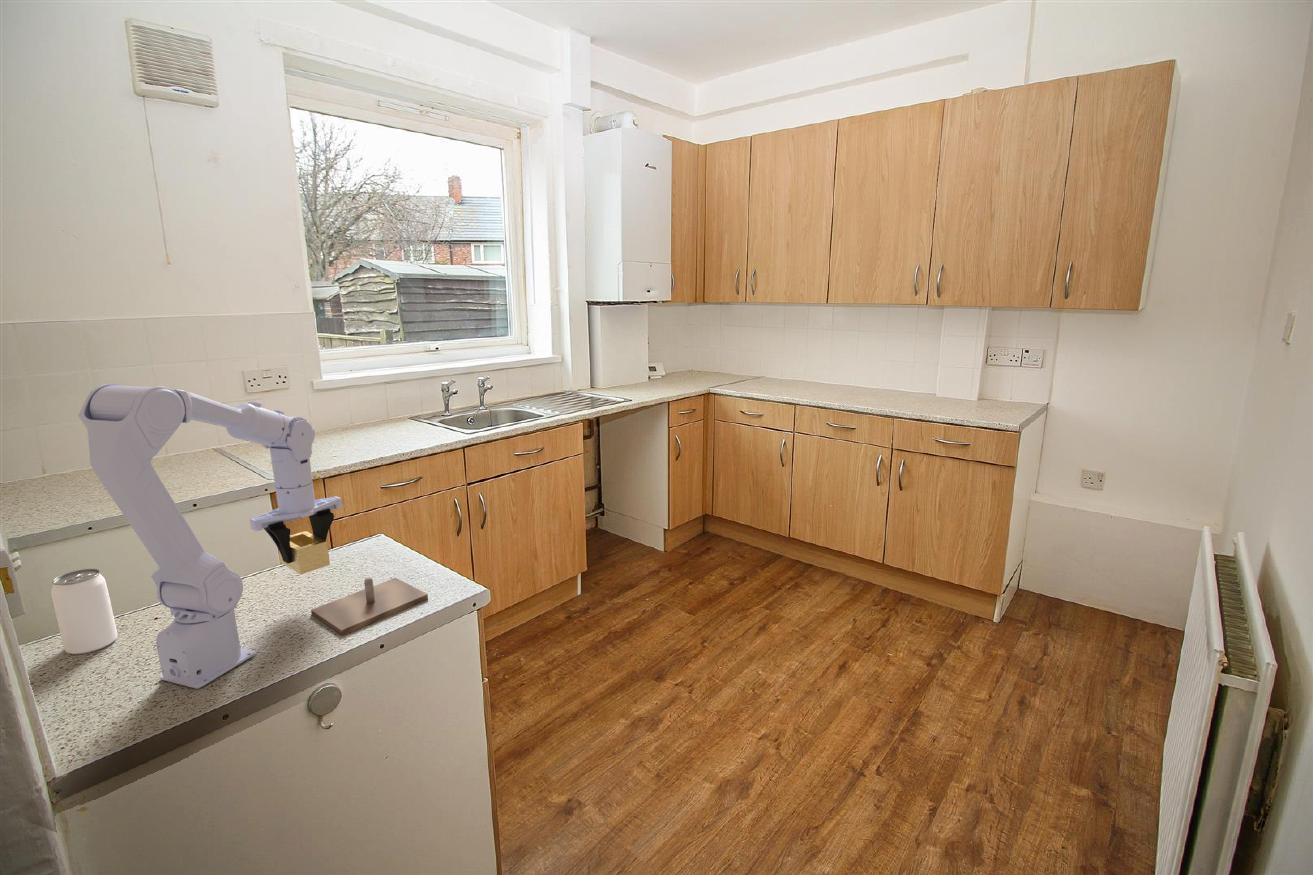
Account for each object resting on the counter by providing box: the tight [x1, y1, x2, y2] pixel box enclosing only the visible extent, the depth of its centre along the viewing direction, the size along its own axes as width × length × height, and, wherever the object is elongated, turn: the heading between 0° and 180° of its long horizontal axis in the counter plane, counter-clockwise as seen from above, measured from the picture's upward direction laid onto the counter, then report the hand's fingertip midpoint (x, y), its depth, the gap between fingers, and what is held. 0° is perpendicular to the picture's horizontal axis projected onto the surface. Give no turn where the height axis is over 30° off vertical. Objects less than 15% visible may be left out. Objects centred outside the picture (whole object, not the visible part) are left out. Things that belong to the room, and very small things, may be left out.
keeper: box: [310, 577, 429, 636], centre depth 113 cm, size 16×11×6 cm
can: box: [50, 568, 118, 656], centre depth 100 cm, size 6×6×12 cm
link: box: [277, 530, 331, 575], centre depth 112 cm, size 8×5×4 cm, turn 53°
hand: (304, 556), depth 112 cm, fingers closed on link, 5 cm apart
